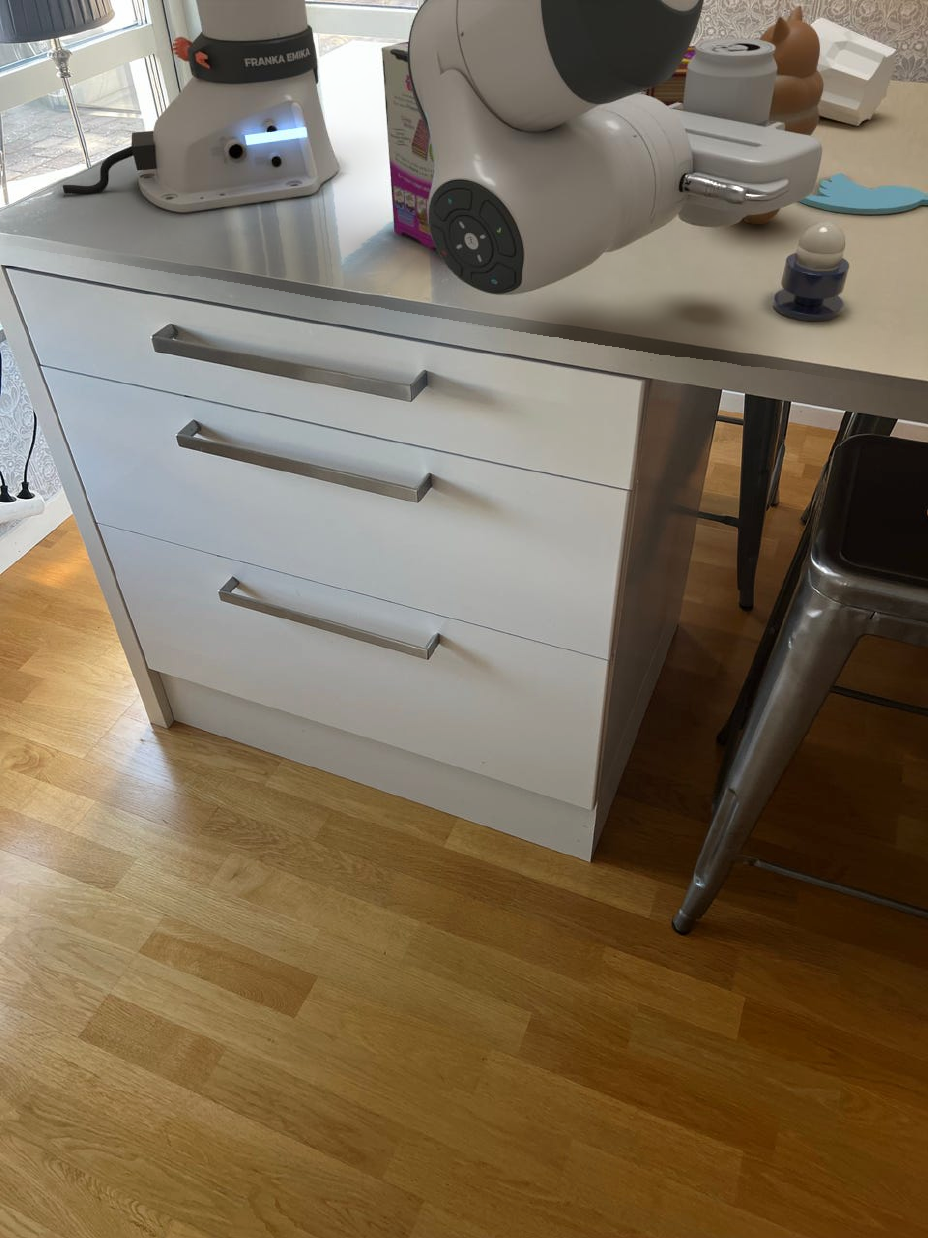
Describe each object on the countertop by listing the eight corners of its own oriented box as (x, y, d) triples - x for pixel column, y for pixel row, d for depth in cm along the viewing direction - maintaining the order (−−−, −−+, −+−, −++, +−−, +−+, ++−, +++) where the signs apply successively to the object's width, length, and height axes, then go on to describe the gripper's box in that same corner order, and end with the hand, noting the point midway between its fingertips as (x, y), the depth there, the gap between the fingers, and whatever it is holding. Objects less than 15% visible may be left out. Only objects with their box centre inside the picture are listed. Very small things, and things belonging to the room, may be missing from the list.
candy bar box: (503, 251, 90) (504, 56, 79) (463, 265, 88) (458, 66, 76) (430, 220, 96) (422, 35, 85) (391, 232, 94) (377, 44, 83)
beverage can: (766, 223, 74) (799, 49, 66) (693, 235, 72) (718, 58, 64) (725, 197, 78) (751, 31, 70) (655, 208, 77) (674, 39, 69)
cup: (878, 122, 120) (810, 98, 124) (912, 34, 113) (838, 11, 117) (842, 141, 115) (772, 115, 119) (875, 50, 107) (799, 25, 111)
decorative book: (646, 110, 123) (651, 67, 119) (640, 78, 134) (644, 38, 131) (735, 110, 122) (742, 67, 118) (721, 78, 133) (727, 37, 130)
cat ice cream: (733, 202, 98) (767, -2, 86) (807, 215, 95) (853, 5, 82) (699, 230, 92) (730, 16, 80) (777, 245, 89) (821, 25, 77)
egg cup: (838, 325, 77) (861, 239, 72) (769, 316, 78) (786, 231, 74) (844, 297, 81) (865, 213, 76) (777, 289, 82) (794, 206, 78)
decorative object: (787, 194, 98) (838, 170, 103) (786, 199, 98) (836, 175, 103) (897, 222, 91) (945, 195, 96) (895, 228, 91) (943, 200, 96)
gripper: (772, 150, 57) (871, 100, 64) (511, 95, 67) (622, 57, 74) (753, 254, 61) (847, 196, 68) (510, 188, 71) (615, 143, 79)
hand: (728, 123), depth 71 cm, fingers closed on beverage can, 6 cm apart
